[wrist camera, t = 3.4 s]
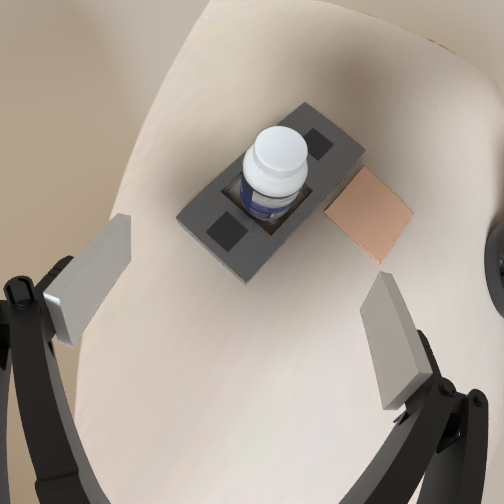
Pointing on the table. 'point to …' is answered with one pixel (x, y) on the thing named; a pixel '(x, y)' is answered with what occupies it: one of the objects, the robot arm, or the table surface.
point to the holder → (241, 225)
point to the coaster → (370, 214)
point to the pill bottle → (273, 172)
